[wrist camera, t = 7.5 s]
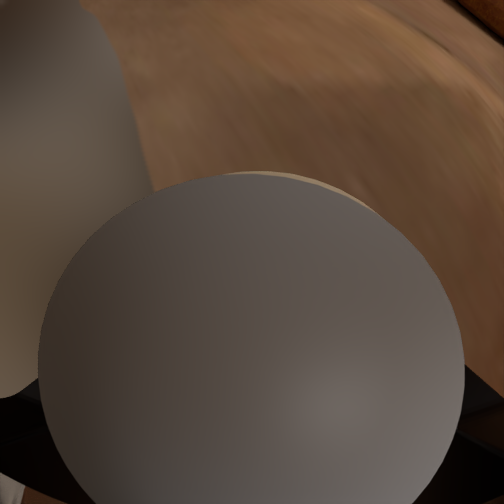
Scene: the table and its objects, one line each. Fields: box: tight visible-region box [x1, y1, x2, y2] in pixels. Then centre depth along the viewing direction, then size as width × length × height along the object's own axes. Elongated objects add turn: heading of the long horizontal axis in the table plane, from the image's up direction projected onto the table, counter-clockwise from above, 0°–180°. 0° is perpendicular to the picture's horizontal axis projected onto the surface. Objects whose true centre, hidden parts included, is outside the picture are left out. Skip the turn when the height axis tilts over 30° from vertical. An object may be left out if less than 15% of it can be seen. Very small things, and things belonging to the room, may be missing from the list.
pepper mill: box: [38, 171, 465, 504], centre depth 9 cm, size 6×6×14 cm
